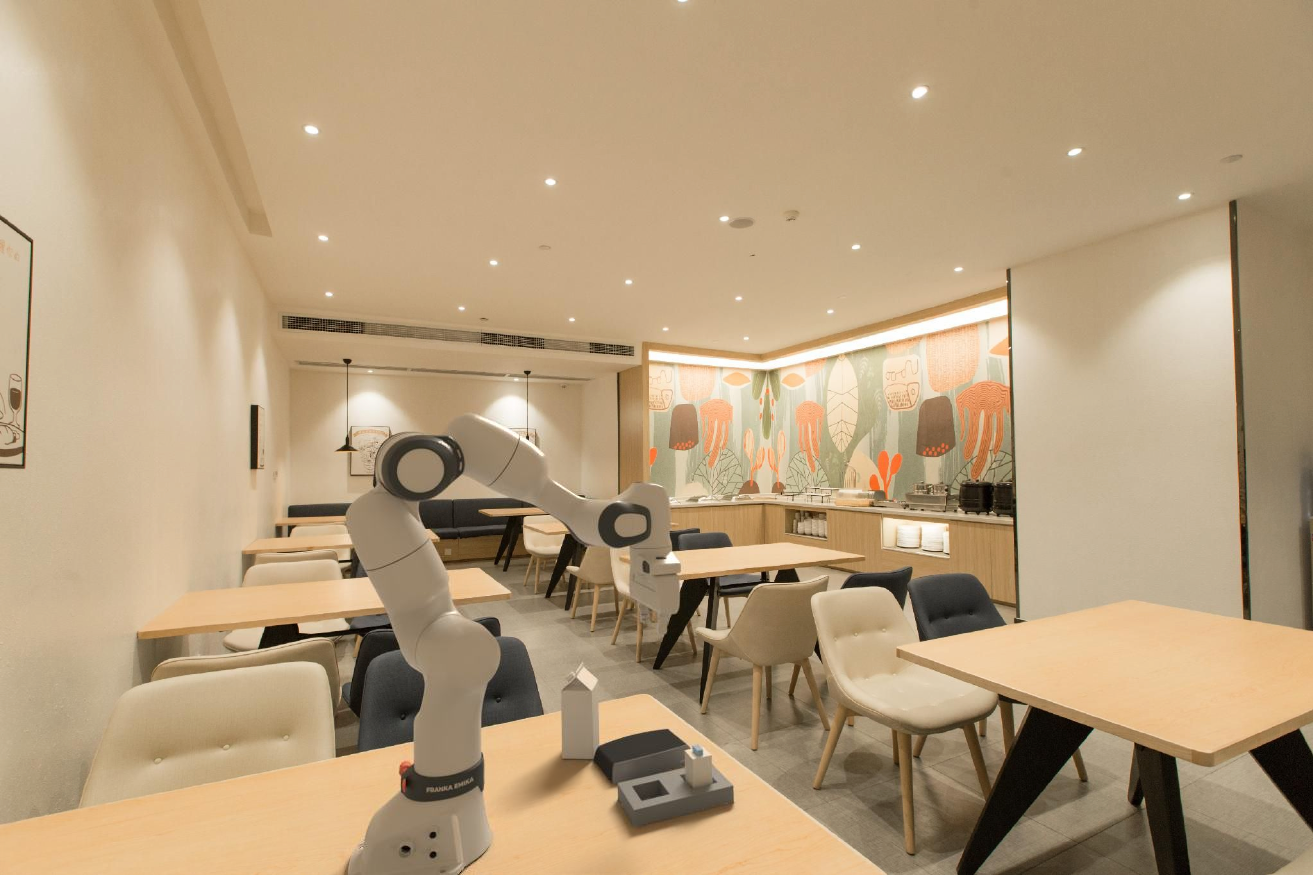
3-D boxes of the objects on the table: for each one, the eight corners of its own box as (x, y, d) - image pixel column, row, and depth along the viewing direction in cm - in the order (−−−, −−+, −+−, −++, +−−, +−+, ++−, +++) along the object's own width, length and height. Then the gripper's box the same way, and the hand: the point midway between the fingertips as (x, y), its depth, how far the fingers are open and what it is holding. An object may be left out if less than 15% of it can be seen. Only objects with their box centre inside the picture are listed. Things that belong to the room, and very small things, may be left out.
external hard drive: (696, 765, 127) (696, 745, 127) (613, 788, 118) (613, 767, 118) (669, 741, 138) (668, 723, 139) (591, 761, 130) (591, 742, 130)
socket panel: (634, 827, 104) (634, 810, 104) (617, 798, 113) (617, 783, 114) (733, 801, 111) (733, 785, 112) (710, 776, 121) (710, 761, 121)
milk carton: (599, 745, 136) (597, 662, 137) (593, 760, 129) (591, 672, 130) (569, 744, 137) (568, 662, 138) (561, 759, 130) (560, 672, 131)
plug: (694, 802, 112) (692, 753, 112) (685, 792, 115) (684, 745, 116) (713, 797, 113) (711, 749, 114) (704, 787, 117) (702, 741, 117)
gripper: (621, 555, 130) (623, 618, 129) (654, 568, 111) (656, 642, 110) (648, 553, 132) (649, 615, 131) (684, 565, 113) (687, 638, 112)
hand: (653, 627), depth 120 cm, fingers open, 8 cm apart
